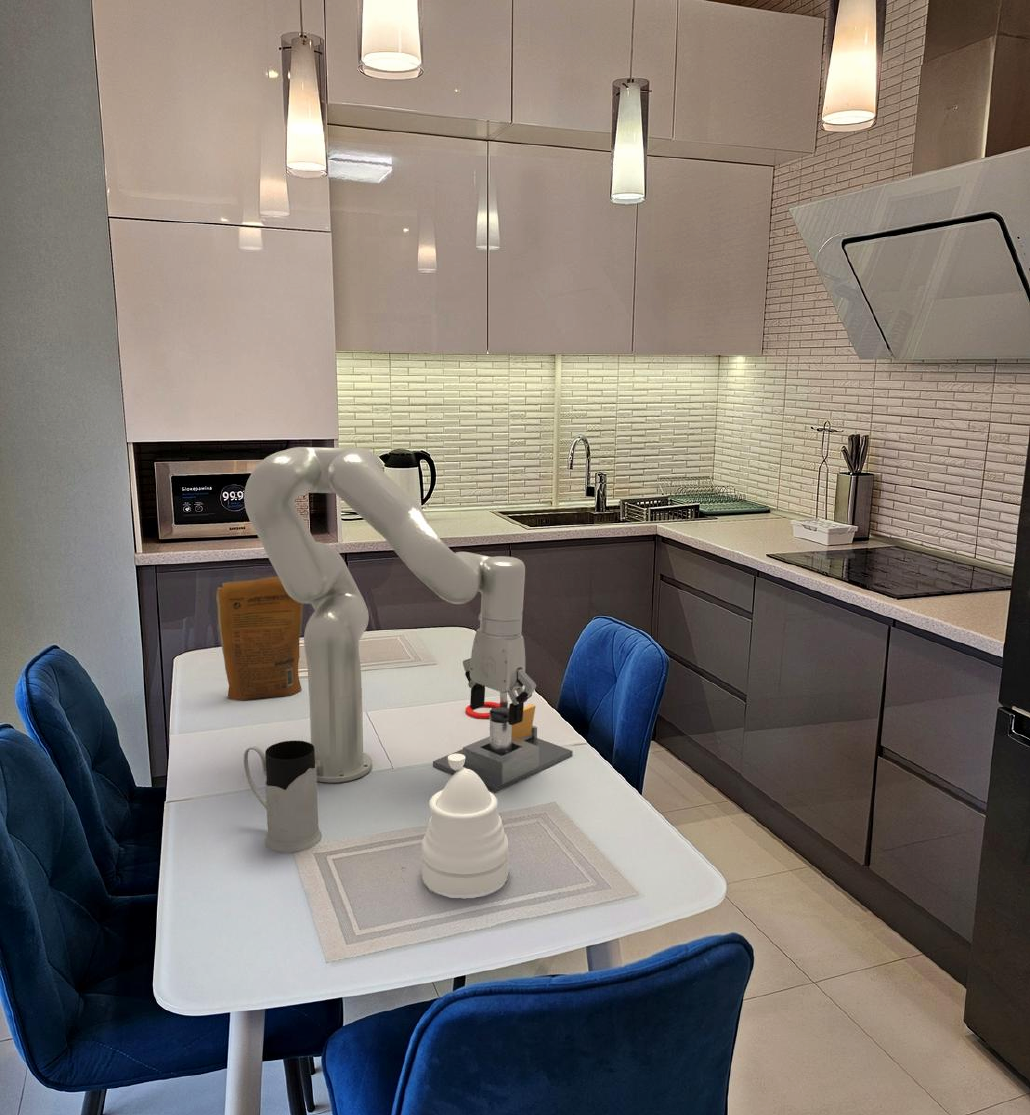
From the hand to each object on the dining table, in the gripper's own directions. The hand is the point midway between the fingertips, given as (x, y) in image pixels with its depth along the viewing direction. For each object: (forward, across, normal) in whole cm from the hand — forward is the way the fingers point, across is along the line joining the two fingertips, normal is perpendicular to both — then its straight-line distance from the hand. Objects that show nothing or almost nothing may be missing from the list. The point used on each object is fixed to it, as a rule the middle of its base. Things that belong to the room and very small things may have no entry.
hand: (495, 715), depth 166 cm
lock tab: (+9, -4, +11) cm, 15 cm away
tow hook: (+12, -22, +21) cm, 32 cm away
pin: (+10, +1, +1) cm, 10 cm away
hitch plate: (+11, -2, +5) cm, 12 cm away
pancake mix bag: (+14, -65, -7) cm, 67 cm away
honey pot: (+12, +21, -28) cm, 37 cm away
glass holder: (+13, -9, -40) cm, 43 cm away
